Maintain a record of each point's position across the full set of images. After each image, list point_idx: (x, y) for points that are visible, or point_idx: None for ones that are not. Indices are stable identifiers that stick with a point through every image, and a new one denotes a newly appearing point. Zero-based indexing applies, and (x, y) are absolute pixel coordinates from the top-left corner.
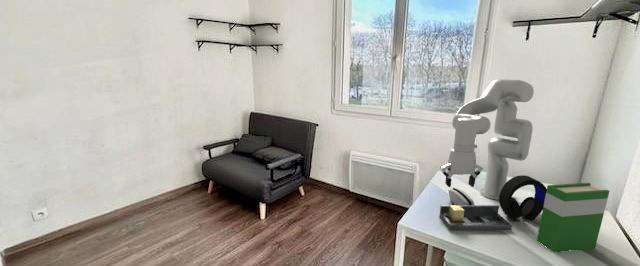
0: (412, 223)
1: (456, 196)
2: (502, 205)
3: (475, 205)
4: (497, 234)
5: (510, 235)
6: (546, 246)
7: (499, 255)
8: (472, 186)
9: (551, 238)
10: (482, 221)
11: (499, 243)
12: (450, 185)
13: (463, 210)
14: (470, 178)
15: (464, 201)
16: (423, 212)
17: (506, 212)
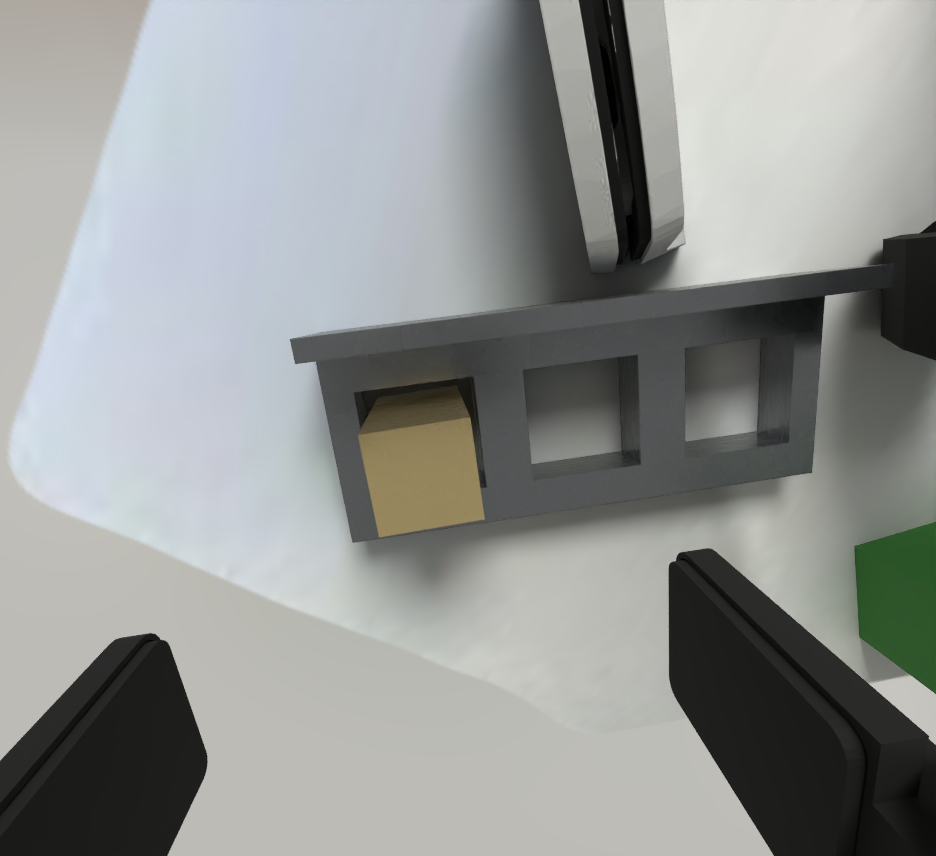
0: (80, 470)
1: (548, 48)
2: (934, 280)
3: (669, 295)
4: (666, 516)
5: (740, 514)
6: (863, 602)
7: (569, 708)
8: (684, 700)
9: (930, 663)
10: (633, 422)
11: (626, 607)
12: (179, 814)
13: (476, 519)
14: (790, 763)
15: (584, 229)
16: (185, 262)
17: (899, 300)
